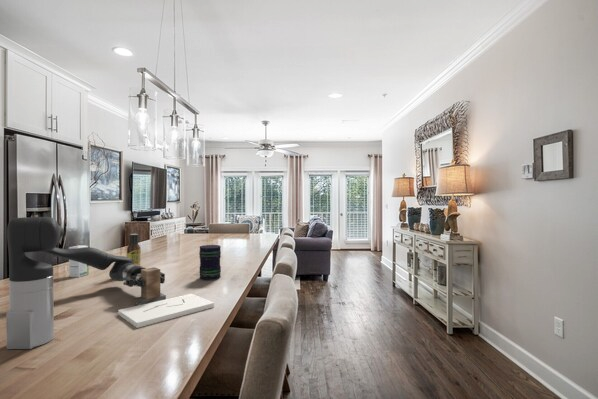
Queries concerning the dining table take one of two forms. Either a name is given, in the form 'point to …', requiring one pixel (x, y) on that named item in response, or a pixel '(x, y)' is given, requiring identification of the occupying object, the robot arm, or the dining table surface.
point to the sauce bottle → (134, 249)
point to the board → (164, 309)
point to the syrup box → (77, 266)
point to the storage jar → (210, 262)
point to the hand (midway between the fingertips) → (153, 282)
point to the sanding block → (150, 287)
